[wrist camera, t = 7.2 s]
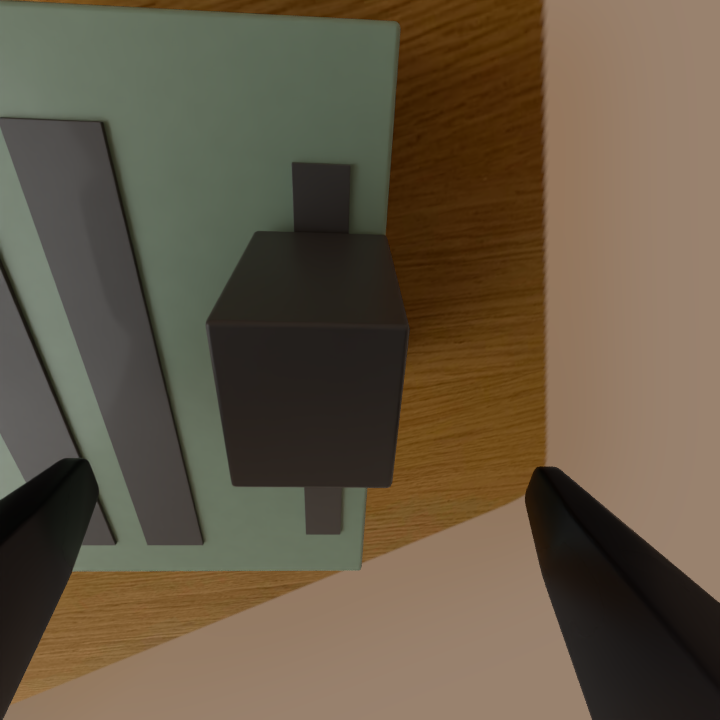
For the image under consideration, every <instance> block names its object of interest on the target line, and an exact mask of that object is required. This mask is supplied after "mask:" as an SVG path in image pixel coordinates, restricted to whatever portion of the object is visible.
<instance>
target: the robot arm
mask: <svg viewBox="0 0 720 720" xmlns="http://www.w3.org/2000/svg"><path fill="white" fill-rule="evenodd" d="M98 495H99V487H98V483H97V481H96V478H95V475H94V473H93V470H92V468H91V465H90V463H89V461H88V460H87V459H84V458H64V459H61V460H60V461H58V462H56V463H55V464H53V465H52V466H50V467H49V468H47V469H46V470H44V471H43V472H41V473H40V474H38V475H37V476H35V477H34V478H32V479H31V480H29V481H28V482H26V483H25V484H23V485H22V486H20V487H19V488H17V489H16V490H14V491H13V492H11V493H10V494H8V495H7V496H5V497H4V498H2V499H1V500H0V720H3V718H4V716H5V714H6V712H7V710H8V707H9V705H10V703H11V701H12V699H13V697H14V695H15V693H16V690H17V688H18V686H19V684H20V682H21V680H22V678H23V676H24V673H25V671H26V669H27V667H28V665H29V663H30V661H31V659H32V656H33V654H34V652H35V650H36V648H37V646H38V644H39V642H40V639H41V637H42V635H43V633H44V631H45V629H46V627H47V625H48V623H49V620H50V618H51V616H52V614H53V612H54V610H55V608H56V606H57V603H58V601H59V599H60V597H61V595H62V593H63V591H64V589H65V586H66V584H67V582H68V580H69V577H70V575H71V573H72V570H73V568H74V565H75V562H76V560H77V557H78V554H79V551H80V548H81V545H82V543H83V540H84V537H85V534H86V531H87V528H88V525H89V523H90V520H91V517H92V514H93V511H94V508H95V505H96V502H97V499H98ZM525 504H526V508H527V513H528V517H529V521H530V526H531V530H532V534H533V539H534V543H535V547H536V552H537V556H538V560H539V564H540V568H541V572H542V576H543V579H544V582H545V585H546V588H547V591H548V594H549V597H550V600H551V603H552V606H553V608H554V611H555V614H556V617H557V620H558V622H559V625H560V629H561V632H562V634H563V637H564V640H565V643H566V646H567V649H568V652H569V655H570V657H571V660H572V663H573V666H574V669H575V672H576V675H577V678H578V680H579V683H580V686H581V689H582V692H583V695H584V698H585V701H586V704H587V706H588V709H589V712H590V715H591V718H592V720H720V603H719V602H718V601H717V600H715V599H714V598H713V597H712V596H710V595H709V594H708V593H707V592H706V591H705V590H703V589H702V588H701V587H700V586H699V585H697V584H696V583H695V582H694V581H693V580H691V579H690V578H689V577H688V576H687V575H685V574H684V573H683V572H682V571H681V570H680V569H678V568H677V567H676V566H674V565H673V564H672V563H671V562H670V561H669V560H668V559H666V558H665V557H664V556H663V555H662V554H660V553H659V552H658V551H657V550H655V549H654V548H653V547H652V546H651V545H650V544H648V543H647V542H646V541H645V540H644V539H642V538H641V537H640V536H639V535H638V534H636V533H635V532H634V531H633V530H632V529H630V528H629V527H628V526H627V525H626V524H624V523H623V522H622V521H621V520H620V519H619V518H617V517H616V516H615V515H614V514H613V513H611V512H610V511H609V510H608V509H607V508H605V507H604V506H603V505H602V504H601V503H600V502H598V501H597V500H596V499H595V498H593V497H592V496H591V495H590V494H589V493H588V492H586V491H585V490H584V489H583V488H582V487H580V486H579V485H578V484H577V483H576V482H574V481H573V480H572V479H571V478H570V477H569V476H567V475H566V474H565V473H564V472H563V471H561V470H560V469H559V468H557V467H541V466H540V467H537V468H536V469H535V470H534V472H533V474H532V477H531V480H530V482H529V485H528V488H527V490H526V494H525Z"/></svg>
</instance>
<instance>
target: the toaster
mask: <svg viewBox="0 0 720 720" xmlns="http://www.w3.org/2000/svg"><path fill="white" fill-rule="evenodd" d="M400 30H401V29H400V25H399V23H398V22H396V21H384V20H366V19H347V18H329V17H310V16H291V15H273V14H254V13H236V12H217V11H199V10H180V9H161V8H143V7H124V6H106V5H87V4H69V3H50V2H31V1H13V0H0V500H1V499H2V498H4V497H5V496H7V495H8V494H10V493H11V492H13V491H14V490H16V489H17V488H19V487H20V486H22V485H23V484H25V483H26V482H28V481H29V480H31V479H32V478H34V477H35V476H37V475H38V474H40V473H41V472H43V471H44V470H46V469H47V468H49V467H50V466H52V465H53V464H55V463H56V462H58V461H60V460H61V459H64V458H84V459H87V460H88V461H89V463H90V465H91V468H92V470H93V473H94V475H95V478H96V481H97V483H98V487H99V495H98V499H97V502H96V505H95V508H94V511H93V514H92V517H91V520H90V523H89V525H88V528H87V531H86V534H85V537H84V540H83V543H82V545H81V548H80V551H79V554H78V557H77V560H76V562H75V565H74V568H73V570H72V571H329V570H360V569H361V566H362V553H363V539H364V526H365V512H366V498H367V488H322V487H234V486H233V485H232V483H231V478H230V472H229V466H228V460H227V454H226V448H225V442H224V436H223V430H222V424H221V418H220V412H219V406H218V400H217V394H216V388H215V382H214V376H213V370H212V364H211V358H210V352H209V346H208V339H207V333H206V327H205V323H206V320H207V318H208V317H209V315H210V313H211V311H212V309H213V307H214V306H215V304H216V302H217V300H218V298H219V296H220V295H221V293H222V291H223V289H224V287H225V285H226V284H227V282H228V280H229V278H230V276H231V274H232V273H233V271H234V269H235V267H236V265H237V263H238V262H239V260H240V258H241V256H242V254H243V252H244V251H245V249H246V247H247V245H248V243H249V241H250V240H251V238H252V236H253V234H254V232H256V231H279V232H310V233H342V234H374V235H385V236H386V223H387V209H388V195H389V181H390V168H391V154H392V140H393V126H394V112H395V99H396V85H397V71H398V57H399V44H400Z"/></svg>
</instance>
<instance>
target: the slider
mask: <svg viewBox="0 0 720 720" xmlns="http://www.w3.org/2000/svg"><path fill="white" fill-rule="evenodd" d="M205 327H206V333H207V339H208V346H209V352H210V358H211V364H212V370H213V376H214V382H215V388H216V394H217V400H218V406H219V412H220V418H221V424H222V430H223V436H224V442H225V448H226V454H227V460H228V466H229V472H230V478H231V483H232V485H233V486H234V487H322V488H388V487H390V486H391V484H392V479H393V470H394V461H395V453H396V444H397V435H398V427H399V418H400V409H401V401H402V392H403V383H404V375H405V366H406V357H407V349H408V340H409V332H410V328H409V324H408V320H407V316H406V312H405V308H404V304H403V300H402V296H401V292H400V288H399V284H398V280H397V276H396V272H395V268H394V264H393V260H392V256H391V252H390V248H389V244H388V240H387V237H386V236H385V235H374V234H342V233H310V232H279V231H256V232H254V234H253V236H252V238H251V240H250V241H249V243H248V245H247V247H246V249H245V251H244V252H243V254H242V256H241V258H240V260H239V262H238V263H237V265H236V267H235V269H234V271H233V273H232V274H231V276H230V278H229V280H228V282H227V284H226V285H225V287H224V289H223V291H222V293H221V295H220V296H219V298H218V300H217V302H216V304H215V306H214V307H213V309H212V311H211V313H210V315H209V317H208V318H207V320H206V323H205Z"/></svg>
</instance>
